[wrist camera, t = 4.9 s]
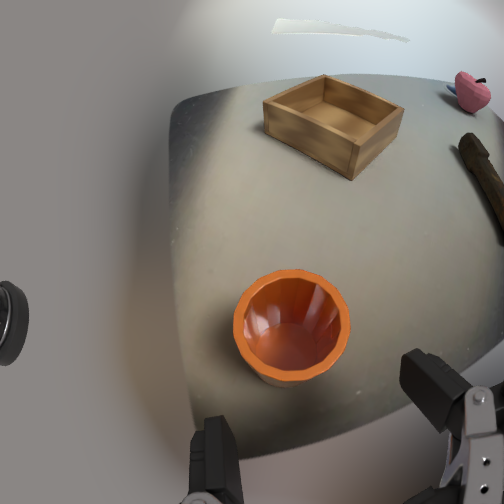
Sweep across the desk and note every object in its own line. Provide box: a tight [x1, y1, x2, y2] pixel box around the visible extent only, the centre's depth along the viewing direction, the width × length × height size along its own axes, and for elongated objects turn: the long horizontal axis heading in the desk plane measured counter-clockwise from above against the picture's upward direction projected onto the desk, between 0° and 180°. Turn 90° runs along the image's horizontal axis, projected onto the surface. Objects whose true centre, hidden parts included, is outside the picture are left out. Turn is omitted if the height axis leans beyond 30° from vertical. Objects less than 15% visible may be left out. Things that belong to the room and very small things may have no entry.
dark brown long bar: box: [458, 133, 504, 231], centre depth 25 cm, size 19×4×5 cm, turn 178°
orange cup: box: [233, 269, 351, 388], centre depth 16 cm, size 6×6×9 cm
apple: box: [455, 71, 491, 113], centre depth 35 cm, size 10×9×10 cm
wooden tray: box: [263, 74, 404, 181], centre depth 31 cm, size 14×14×5 cm
